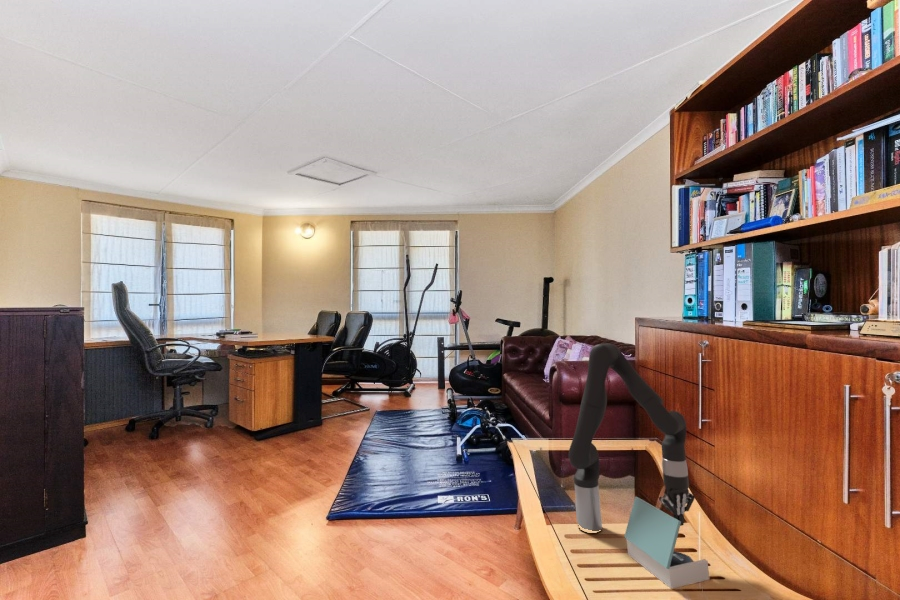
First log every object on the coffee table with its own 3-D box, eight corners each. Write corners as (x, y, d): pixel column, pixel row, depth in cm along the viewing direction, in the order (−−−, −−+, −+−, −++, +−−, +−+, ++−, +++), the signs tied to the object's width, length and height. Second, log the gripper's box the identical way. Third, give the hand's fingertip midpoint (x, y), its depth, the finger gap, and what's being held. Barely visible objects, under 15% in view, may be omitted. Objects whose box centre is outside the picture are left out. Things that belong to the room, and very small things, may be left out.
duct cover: (626, 537, 138) (624, 536, 138) (637, 497, 141) (635, 496, 140) (669, 569, 119) (666, 568, 119) (681, 521, 122) (678, 520, 122)
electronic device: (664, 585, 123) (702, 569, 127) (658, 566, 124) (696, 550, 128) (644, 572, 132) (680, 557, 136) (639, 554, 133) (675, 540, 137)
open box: (628, 554, 138) (626, 538, 138) (662, 547, 141) (660, 531, 141) (671, 588, 119) (669, 569, 119) (709, 579, 122) (707, 560, 122)
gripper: (682, 465, 139) (686, 516, 138) (650, 470, 136) (654, 522, 135) (700, 473, 132) (704, 527, 130) (667, 478, 129) (671, 533, 127)
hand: (679, 524), depth 133 cm, fingers closed
